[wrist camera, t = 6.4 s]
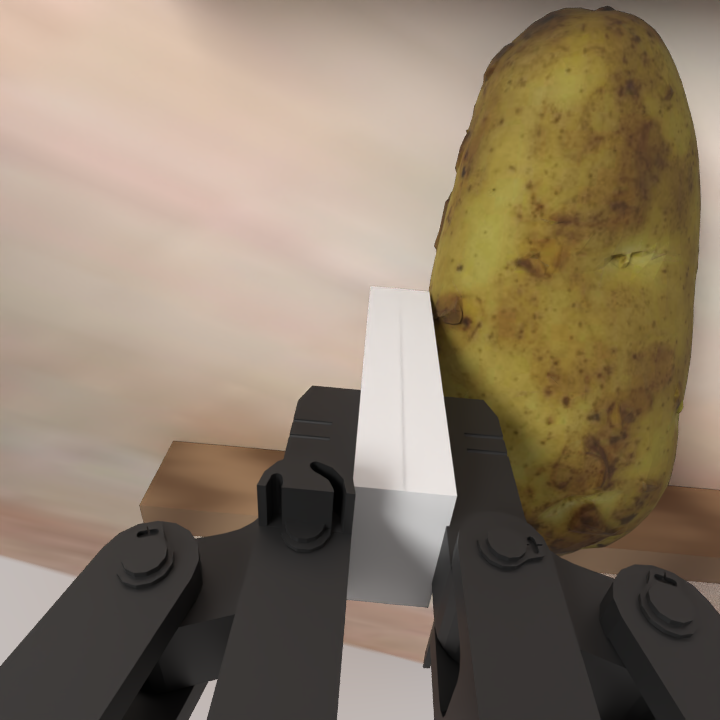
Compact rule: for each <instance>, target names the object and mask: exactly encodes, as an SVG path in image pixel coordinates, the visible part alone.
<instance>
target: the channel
mask: <svg viewBox="0 0 720 720" xmlns="http://www.w3.org/2000/svg"><path fill="white" fill-rule="evenodd" d="M284 455H285V451H277V450H266V449H255V448H244V447H232V446H221V445H210V444H199V443H188V442H177V441H173V442H172V444H171V446H170V448H169V450H168V452H167V454H166V456H165V457H164V459H163V461H162V463H161V465H160V467H159V469H158V471H157V473H156V475H155V476H154V478H153V480H152V482H151V484H150V486H149V488H148V490H147V492H146V494H145V495H144V497H143V499H142V501H141V503H140V505H139V506H140V510H141V514H142V518H143V522H144V523H148V522H154V521H164V522H172V523H177V524H178V525H180V526H182V527H184V528H186V529H187V530H189V531H190V532H191V533H192V535H193V536H202V537H207V536H213V535H218V534H223V533H228V532H231V531H234V530H238V529H241V528H243V527H245V526H247V525H249V524H250V523H252V522H254V521H255V520H256V519H257V518H258V502H257V483H258V482H259V480H260V478H261V476H262V475H263V473H264V471H265V470H267V469H268V468H269V467H271V466H272V465H273V464H275V463H276V462H277V461H280V460H283V459H284ZM559 557H561V558H563V559H565V560H567V561H569V562H571V563H574V564H576V565H579V566H581V567H584V568H587V569H589V570H592V571H595V572H597V573H608V574H618V573H619V572H620V570H621V569H624V568H627V567H629V566H632V565H634V564H639V565H653V566H656V567H659V568H662V569H665V570H667V571H670V572H673V573H675V574H676V575H678V576H679V577H681V578H682V579H684V580H685V581H696V582H707V583H718V584H720V490H710V489H699V488H688V487H677V486H667V488H666V489H665V491H664V493H663V495H662V496H661V498H660V500H659V502H658V503H657V505H656V507H655V508H654V509H653V510H652V511H651V513H650V514H649V515H648V516H647V517H646V518H645V519H644V520H643V521H642V522H641V523H640V524H639V525H638V526H637V527H636V528H635V529H634V530H632V531H631V532H630V533H629V534H627V535H626V536H624V537H623V538H621V539H619V540H617V541H615V542H614V543H612V544H610V545H608V546H607V547H602V548H590V549H581V550H578V551H576V552H573V553H570V554H566V555H563V556H559Z"/></svg>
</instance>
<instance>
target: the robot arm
mask: <svg viewBox="0 0 720 720" xmlns="http://www.w3.org/2000/svg"><path fill="white" fill-rule="evenodd" d="M257 502H258V518H257V519H256V520H255V521H254V522H252V523H250V524H249V525H247V526H245V527H243V528H241V529H238V530H234V531H231V532H228V533H223V534H218V535H213V536H207V537H202V538H197V539H195V538H194V537H193V535H192V533H191V532H190V531H189V530H187V529H186V528H184V527H182V526H180V525H178V524H177V523H172V522H164V521H154V522H148V523H142V524H138V525H136V526H134V527H131V528H129V529H127V530H125V531H123V532H121V533H119V534H118V535H117V536H116V537H114V538H113V539H112V540H111V541H110V542H109V543H107V544H106V545H105V546H104V547H103V548H102V549H101V550H100V551H99V553H98V554H97V555H96V556H95V557H94V558H93V560H92V561H91V562H90V563H89V564H88V565H87V566H86V568H85V569H84V570H83V571H82V572H81V573H80V575H79V576H78V577H77V578H76V579H75V580H74V582H73V583H72V584H71V585H70V586H69V587H68V588H67V590H66V591H65V592H64V593H63V594H62V595H61V597H60V598H59V599H58V600H57V601H56V602H55V604H54V605H53V606H52V607H51V608H50V609H49V611H48V612H47V613H46V614H45V615H44V616H43V618H42V619H41V620H40V621H39V622H38V623H37V624H36V626H35V627H34V628H33V629H32V630H31V631H30V633H29V634H28V635H27V636H26V637H25V638H24V639H23V641H22V642H21V643H20V644H19V645H18V647H17V648H16V649H15V650H14V651H13V652H12V653H11V655H10V656H9V657H8V658H7V659H6V660H5V661H4V663H3V664H2V665H1V666H0V720H189V718H190V716H191V714H192V712H193V710H194V708H195V706H196V704H197V702H198V701H199V699H200V697H201V695H202V693H203V691H204V689H205V687H206V685H207V683H208V681H212V680H215V679H218V680H217V684H216V687H215V691H214V695H213V698H212V702H211V706H210V710H209V713H208V717H207V720H337V710H338V698H339V685H340V673H341V661H342V648H343V636H344V624H345V611H346V600H354V601H365V602H375V603H384V604H395V605H405V606H416V607H427V608H428V606H429V603H430V599H431V595H433V609H434V623H433V626H432V630H431V634H430V637H429V641H428V645H427V648H426V652H425V657H424V664H423V668H430V666H431V670H432V671H431V672H432V688H433V707H434V720H720V614H719V613H718V612H717V611H716V609H715V608H714V607H713V606H712V604H711V603H710V602H709V601H708V600H707V599H706V598H705V597H704V596H703V595H702V594H701V593H700V592H699V591H698V590H697V589H696V588H695V587H694V586H693V585H692V584H690V583H689V582H687V581H685V580H684V579H682V578H681V577H679V576H678V575H676V574H675V573H673V572H670V571H667V570H665V569H662V568H659V567H656V566H653V565H639V564H634V565H632V566H629V567H627V568H624V569H621V570H620V572H619V573H618V575H617V576H616V578H615V579H613V578H611V577H608V576H605V575H603V574H600V573H597V572H595V571H592V570H589V569H587V568H584V567H581V566H579V565H576V564H574V563H571V562H569V561H567V560H565V559H563V558H561V557H559V556H558V555H556V554H555V553H553V552H552V551H550V550H549V548H548V546H547V544H546V542H545V540H544V538H543V537H542V536H541V535H540V534H539V533H538V532H537V531H536V530H535V529H534V528H533V527H532V526H531V525H530V524H528V523H527V521H526V519H525V516H524V512H523V508H522V505H521V501H520V497H519V494H518V490H517V486H516V482H515V479H514V475H513V471H512V467H511V464H510V460H509V456H507V449H506V445H505V441H504V440H503V434H502V430H501V426H500V423H499V419H498V417H497V415H496V414H495V413H494V412H493V411H492V409H491V408H490V407H489V406H488V405H487V404H486V402H485V401H484V400H479V399H468V398H457V397H446V396H443V389H442V382H441V374H440V367H439V360H438V352H437V345H436V338H435V330H434V323H433V316H432V308H431V301H430V294H429V291H421V290H410V289H399V288H388V287H378V286H370V296H369V306H368V317H367V328H366V338H365V349H364V360H363V370H362V381H361V390H354V389H343V388H332V387H321V386H312V387H311V388H310V389H309V390H308V391H307V392H306V393H305V394H304V395H303V396H302V397H301V398H300V399H299V400H298V403H297V407H296V411H295V415H294V421H293V423H292V427H291V431H290V437H289V439H288V443H287V447H286V451H285V455H284V459H283V460H280V461H277V462H276V463H275V464H273V465H272V466H271V467H269V468H268V469H267V470H265V471H264V473H263V475H262V476H261V478H260V480H259V482H258V483H257Z"/></svg>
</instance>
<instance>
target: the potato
mask: <svg viewBox="0 0 720 720" xmlns="http://www.w3.org/2000/svg"><path fill="white" fill-rule="evenodd" d="M466 132H467V135H466V136H465V138H464V140H463V142H462V145H461V147H460V150H459V154H458V158H457V163H456V167H455V169H456V173H457V174H456V179H455V184H454V188H453V191H452V192H451V194H450V196H449V199H448V200H447V201H446V202H445V206H444V211H443V216H442V221H441V225H440V230H439V233H438V236H437V239H436V242H435V245H434V246H435V248H436V257H435V261H434V266H433V270H432V275H431V280H430V287H429V294H430V301H431V308H432V316H433V323H434V330H435V338H436V345H437V352H438V360H439V367H440V374H441V382H442V389H443V396H446V397H457V398H468V399H479V400H484V401H485V402H486V404H487V405H488V406H489V407H490V408H491V409H492V411H493V412H494V413H495V414H496V415H497V417H498V419H499V423H500V426H501V430H502V434H503V440H504V441H505V445H506V449H507V456H509V460H510V464H511V467H512V471H513V475H514V479H515V482H516V486H517V490H518V494H519V497H520V501H521V505H522V508H523V512H524V516H525V519H526V521H527V523H528V524H530V525H531V526H532V527H533V528H534V529H535V530H536V531H537V532H538V533H539V534H540V535H541V536H542V537H543V538H544V540H545V542H546V544H547V546H548V548H549V550H550V551H552V552H553V553H555V554H556V555H558V556H563V555H566V554H570V553H573V552H576V551H578V550H581V549H590V548H602V547H607V546H608V545H610V544H612V543H614V542H615V541H617V540H619V539H621V538H623V537H624V536H626V535H627V534H629V533H630V532H631V531H632V530H634V529H635V528H636V527H637V526H638V525H639V524H640V523H641V522H642V521H643V520H644V519H645V518H646V517H647V516H648V515H649V514H650V513H651V511H652V510H653V509H654V508H655V507H656V505H657V503H658V502H659V500H660V498H661V496H662V495H663V493H664V491H665V489H666V488H667V486H668V483H669V480H670V477H671V474H672V470H673V465H674V461H675V456H676V448H677V440H678V420H679V413H680V412H681V411H682V409H683V400H684V394H685V388H686V383H687V377H688V371H689V365H690V358H691V346H692V332H693V304H694V294H695V280H696V273H697V269H698V253H699V231H700V210H701V198H700V174H699V158H698V150H697V141H696V135H695V130H694V126H693V121H692V117H691V113H690V110H689V106H688V103H687V99H686V95H685V92H684V88H683V84H682V81H681V79H680V76H679V74H678V71H677V68H676V66H675V64H674V62H673V59H672V57H671V55H670V53H669V51H668V49H667V47H666V46H665V44H664V42H663V41H662V39H661V37H660V36H659V34H658V33H657V32H656V31H655V29H653V28H652V27H651V26H650V25H649V24H647V23H646V22H645V21H644V20H642V19H640V18H638V17H636V16H634V15H632V14H628V13H624V12H620V11H616V10H614V9H613V8H611V7H609V6H605V7H601V8H599V9H597V10H595V11H593V10H588V9H583V8H564V9H561V10H557V11H554V12H551V13H549V14H547V15H546V16H544V17H542V18H541V19H539V20H538V21H536V22H534V23H533V24H531V25H530V26H529V27H528V28H527V29H526V30H525V31H524V32H523V33H521V34H520V35H519V36H518V37H517V38H516V39H515V40H514V41H513V42H512V43H510V44H508V45H506V46H504V48H503V49H502V50H501V51H500V52H499V53H498V54H497V55H496V56H495V57H494V58H493V59H492V61H491V62H490V64H489V66H488V68H487V70H486V72H485V74H484V81H483V85H482V87H481V90H480V93H479V96H478V98H477V101H476V104H475V106H474V111H473V117H472V120H471V123H470V126H469V129H468V130H466Z"/></svg>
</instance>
